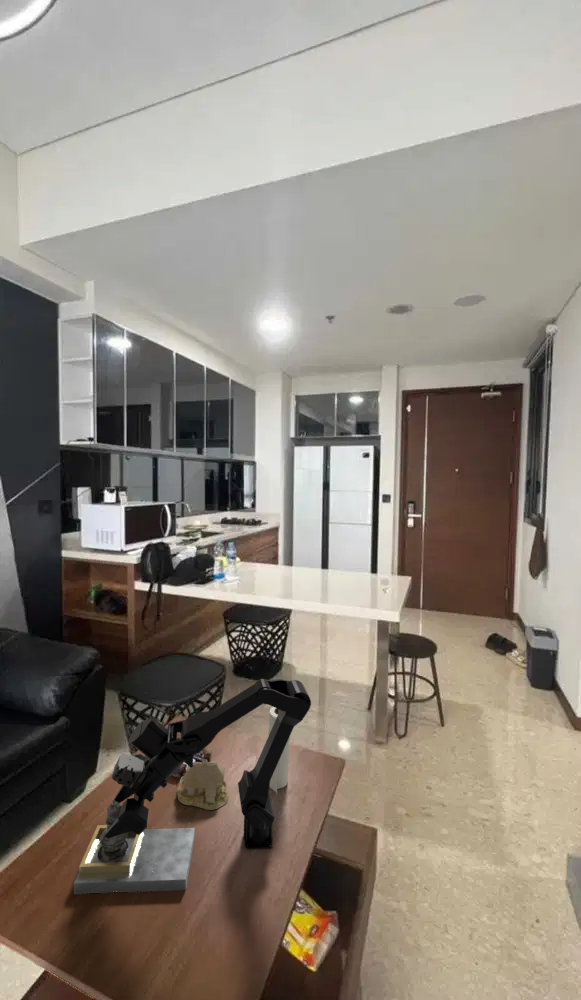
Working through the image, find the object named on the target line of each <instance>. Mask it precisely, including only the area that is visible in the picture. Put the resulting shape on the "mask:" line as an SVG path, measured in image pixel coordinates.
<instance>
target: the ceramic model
mask: <svg viewBox="0 0 581 1000" xmlns="http://www.w3.org/2000/svg"><path fill="white" fill-rule="evenodd" d="M176 794H177V799H178V801H179V802H180V803H181V804H183V805H186V806H194V807H197V808H201V809H203V810H206V811H207V810H208V811H212V810H217V809H220V808H221V807H223V806H225V805H226V804H227V803H228V801H229V796H228V791H227V782H226V780H225V767H224V766H222V765H221V764H219V763H218V762H217V761H209V762H208V759H206V758H203V759H202V761H201V762H200V761H199V762H198V761H193V767H189V766H188V765H187V766H186V772H185V775H183V776H181V778H180V779H179V785H178V787H177V790H176Z"/></svg>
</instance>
